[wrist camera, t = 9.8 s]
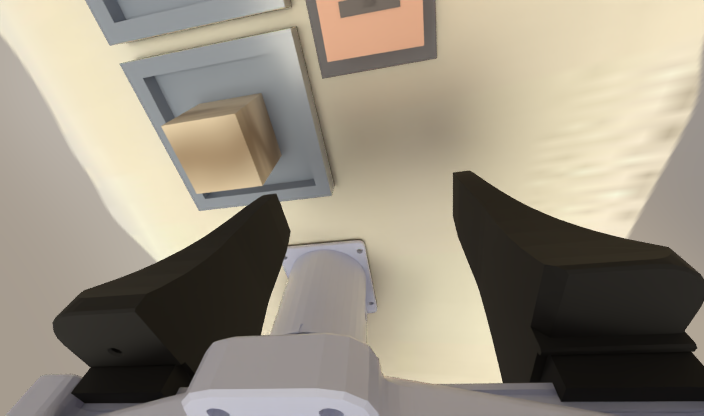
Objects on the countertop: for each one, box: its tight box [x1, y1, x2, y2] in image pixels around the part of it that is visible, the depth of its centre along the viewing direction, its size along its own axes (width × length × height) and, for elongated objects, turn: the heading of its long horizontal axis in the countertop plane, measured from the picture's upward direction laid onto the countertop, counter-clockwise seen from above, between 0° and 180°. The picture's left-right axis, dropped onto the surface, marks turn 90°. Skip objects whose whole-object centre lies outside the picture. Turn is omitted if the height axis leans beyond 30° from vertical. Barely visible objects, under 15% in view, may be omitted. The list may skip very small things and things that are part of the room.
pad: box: [306, 0, 437, 79], centre depth 17 cm, size 7×7×1 cm
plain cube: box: [161, 93, 282, 194], centre depth 20 cm, size 4×4×4 cm
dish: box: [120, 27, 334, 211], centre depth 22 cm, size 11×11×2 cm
